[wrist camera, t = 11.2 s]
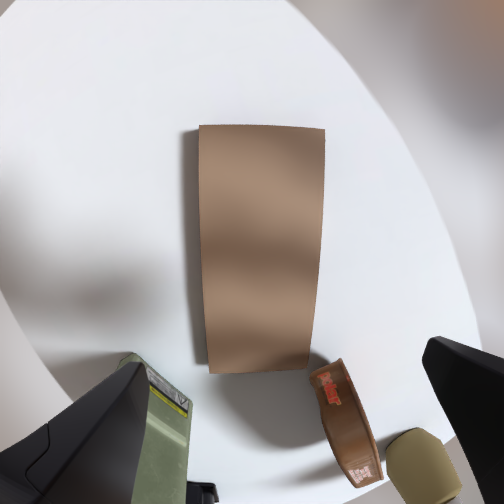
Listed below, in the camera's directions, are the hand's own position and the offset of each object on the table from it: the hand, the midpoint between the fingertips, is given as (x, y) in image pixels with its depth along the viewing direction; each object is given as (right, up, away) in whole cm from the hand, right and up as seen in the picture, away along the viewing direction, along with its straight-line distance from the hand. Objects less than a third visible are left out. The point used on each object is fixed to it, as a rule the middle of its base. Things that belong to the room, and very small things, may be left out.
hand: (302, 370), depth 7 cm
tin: (+6, -9, +14) cm, 18 cm away
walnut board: (-1, +3, +10) cm, 11 cm away
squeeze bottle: (+19, -22, +19) cm, 35 cm away
